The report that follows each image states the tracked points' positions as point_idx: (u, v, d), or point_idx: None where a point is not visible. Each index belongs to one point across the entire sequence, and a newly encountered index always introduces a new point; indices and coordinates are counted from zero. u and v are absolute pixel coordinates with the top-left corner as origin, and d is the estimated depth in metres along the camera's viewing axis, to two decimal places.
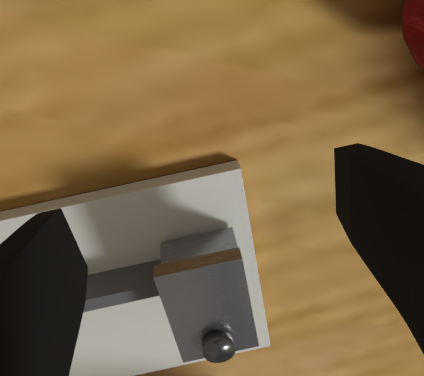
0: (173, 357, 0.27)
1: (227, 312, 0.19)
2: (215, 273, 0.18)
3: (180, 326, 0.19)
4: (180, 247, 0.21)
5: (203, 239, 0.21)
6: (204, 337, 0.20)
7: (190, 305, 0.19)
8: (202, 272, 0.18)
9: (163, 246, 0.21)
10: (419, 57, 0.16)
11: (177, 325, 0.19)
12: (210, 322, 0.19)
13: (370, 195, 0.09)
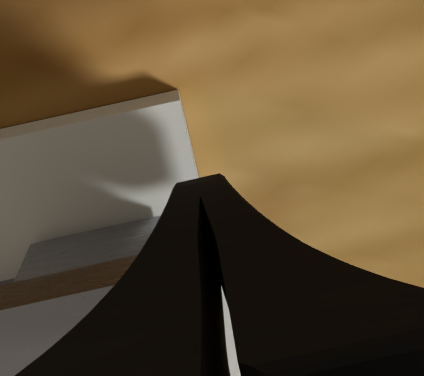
0: None
1: None
2: (89, 311, 0.08)
3: None
4: (60, 252, 0.11)
5: (104, 238, 0.12)
6: None
7: None
8: (58, 309, 0.08)
9: (32, 251, 0.12)
10: None
11: None
12: None
13: (209, 230, 0.09)
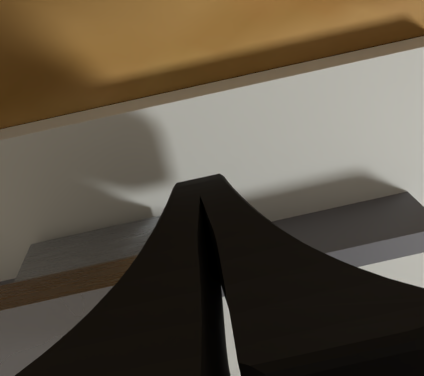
0: None
1: None
2: (89, 311, 0.08)
3: None
4: (60, 253, 0.11)
5: (104, 238, 0.12)
6: None
7: None
8: (58, 309, 0.08)
9: (33, 252, 0.12)
10: None
11: None
12: None
13: (209, 230, 0.09)
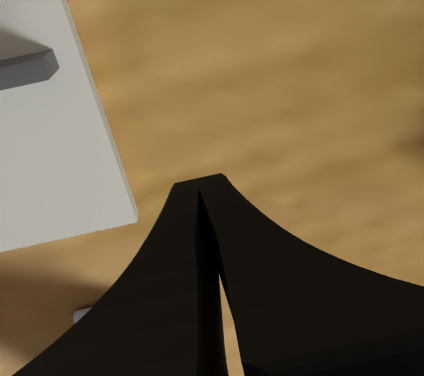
0: (10, 234, 0.21)
1: None
2: None
3: None
4: None
5: None
6: None
7: None
8: None
9: None
10: None
11: None
12: None
13: (211, 230, 0.09)
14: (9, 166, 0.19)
